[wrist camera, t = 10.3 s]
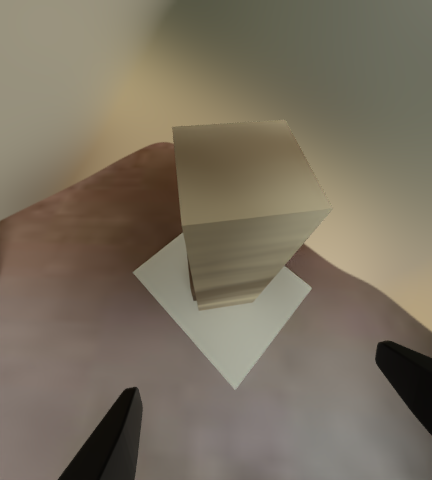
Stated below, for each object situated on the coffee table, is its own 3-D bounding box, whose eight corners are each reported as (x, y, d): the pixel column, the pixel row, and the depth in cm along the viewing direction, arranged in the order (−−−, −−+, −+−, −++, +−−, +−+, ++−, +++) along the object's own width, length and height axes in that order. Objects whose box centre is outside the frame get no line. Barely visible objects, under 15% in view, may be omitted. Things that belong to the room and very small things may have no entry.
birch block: (253, 302, 17) (332, 208, 6) (195, 311, 17) (170, 226, 6) (241, 253, 19) (285, 119, 8) (189, 260, 19) (164, 127, 8)
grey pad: (309, 289, 18) (312, 288, 18) (234, 388, 15) (235, 390, 14) (213, 211, 22) (213, 208, 22) (134, 274, 18) (132, 272, 18)
